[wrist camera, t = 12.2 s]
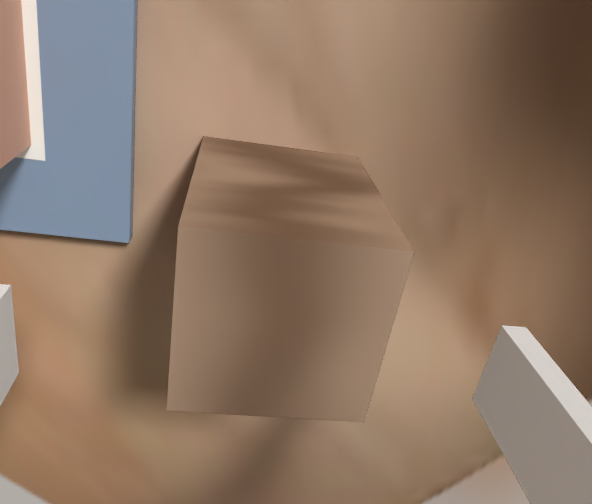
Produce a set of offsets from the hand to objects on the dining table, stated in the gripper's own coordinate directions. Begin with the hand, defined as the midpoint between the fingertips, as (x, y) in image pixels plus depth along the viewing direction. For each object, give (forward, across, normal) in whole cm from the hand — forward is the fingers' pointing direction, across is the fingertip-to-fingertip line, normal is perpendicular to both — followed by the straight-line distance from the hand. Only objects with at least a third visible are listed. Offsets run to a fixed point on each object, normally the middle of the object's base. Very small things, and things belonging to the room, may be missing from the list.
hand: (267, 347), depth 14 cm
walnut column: (+8, 0, 0) cm, 8 cm away
